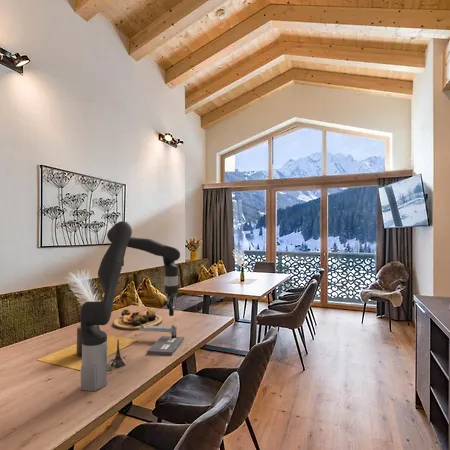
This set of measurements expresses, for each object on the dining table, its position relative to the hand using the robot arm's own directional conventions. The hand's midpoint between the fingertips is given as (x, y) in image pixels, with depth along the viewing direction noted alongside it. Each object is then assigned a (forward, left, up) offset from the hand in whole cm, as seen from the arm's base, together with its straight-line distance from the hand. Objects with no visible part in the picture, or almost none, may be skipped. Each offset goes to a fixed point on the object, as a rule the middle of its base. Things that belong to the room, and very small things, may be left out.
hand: (171, 315), depth 170 cm
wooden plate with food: (+34, +34, -16) cm, 51 cm away
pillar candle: (-19, +38, -15) cm, 45 cm away
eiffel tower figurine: (-30, +16, -16) cm, 38 cm away
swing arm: (+5, +9, -13) cm, 17 cm away
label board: (-5, +1, -15) cm, 16 cm away
